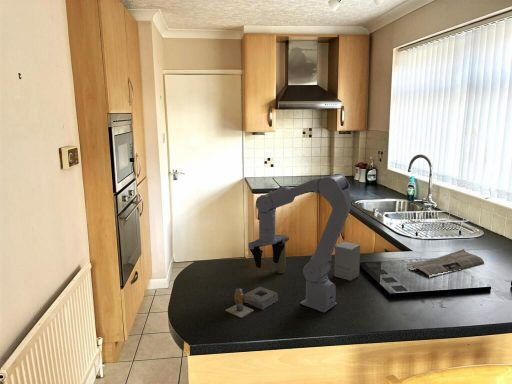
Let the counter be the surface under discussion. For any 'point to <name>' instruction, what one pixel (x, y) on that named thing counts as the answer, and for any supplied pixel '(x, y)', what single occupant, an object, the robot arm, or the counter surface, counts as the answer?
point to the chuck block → (261, 297)
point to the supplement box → (347, 260)
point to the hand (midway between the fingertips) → (267, 264)
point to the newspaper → (448, 263)
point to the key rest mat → (239, 313)
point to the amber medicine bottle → (239, 299)
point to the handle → (282, 257)
